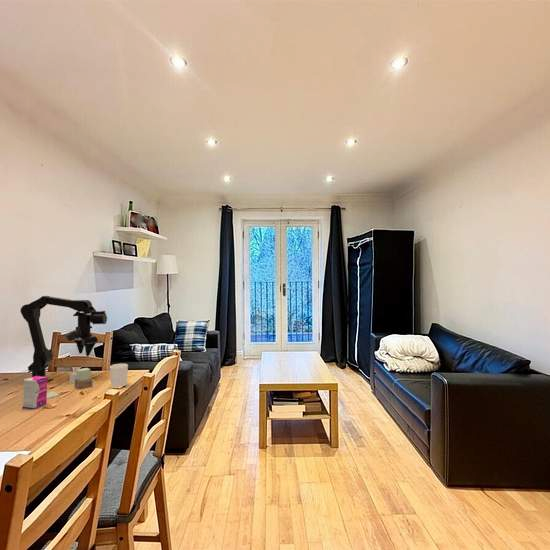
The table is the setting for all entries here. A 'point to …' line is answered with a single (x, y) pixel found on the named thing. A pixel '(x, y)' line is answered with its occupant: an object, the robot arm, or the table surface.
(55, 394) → the tile
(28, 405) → the supplement box
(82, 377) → the sage block
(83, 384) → the walnut base
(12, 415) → the table surface
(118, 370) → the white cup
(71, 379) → the grey block
